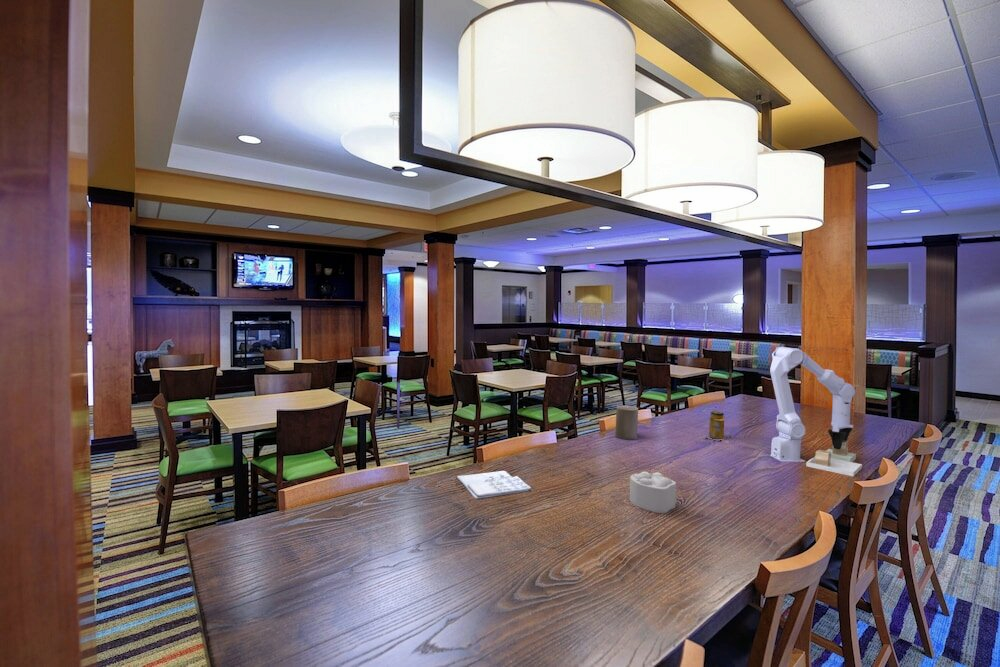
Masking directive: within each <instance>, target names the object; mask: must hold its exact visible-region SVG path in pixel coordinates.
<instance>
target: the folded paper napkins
mask: <svg viewBox="0 0 1000 667" xmlns="http://www.w3.org/2000/svg"><path fill="white" fill-rule="evenodd" d="M456 478H457V479H458V480H459V481H460V483H462V484H463V486H464V487H465V488H466V490H467V491H468V492H469V493H470V495H471V496H472V497H473V498H474V499H476V500H477V499H478V500H479V499H484V498H490V497H497V496H504V495H510V494H516V493H517V494H518V493H521V492H522V493H525V492H529V491H530V490H531V489H532V487H531V486H530V485H528V484H527V483H526V482H525V481H524V480H522V479H521V478H520V477H519V476H518V475H516V476H512V475H510V474H509V473H508V472H507V471H506V470H499V471H492V472H491V471H490V472H483V473H474V474H467V475H466V474H464V475H457V477H456Z"/></svg>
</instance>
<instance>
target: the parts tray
mask: <svg viewBox="0 0 1000 667" xmlns="http://www.w3.org/2000/svg"><path fill="white" fill-rule="evenodd" d="M805 462H806V463H805V464H806V467H808V468H812V469H817V470H821V471H825V472H830V473H835V474H840V475H844V476H848V477H853V478H854V477H855V476H856V475H857V474H858V473H859V472H860V471H861V470H862V469H863V464H862V463H857V462H854V461H853V462H848V461H843V460H838V459H833V458H831V465H830V466H829V467H828V466H824V465H819V464H815V456H814V457H812V458H810V459H808V461H805Z"/></svg>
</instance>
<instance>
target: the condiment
mask: <svg viewBox="0 0 1000 667" xmlns="http://www.w3.org/2000/svg"><path fill="white" fill-rule="evenodd" d="M724 417H725V416H724V413H723V412H721V411H717V410H716V411H711V412H710V417H709V432H708V436H709V437H710V438H712V439H723V437H724V438H725V432H724V431H725V418H724ZM706 437H707V436H705V437H704V439H705V438H706Z"/></svg>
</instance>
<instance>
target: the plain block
mask: <svg viewBox="0 0 1000 667" xmlns="http://www.w3.org/2000/svg"><path fill="white" fill-rule="evenodd" d="M814 457H815V464H819V465H824V466H828V467H829V466H830V465H831V452H829V451H826V450H823V449H818V450H816V451H815V456H814Z"/></svg>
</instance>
